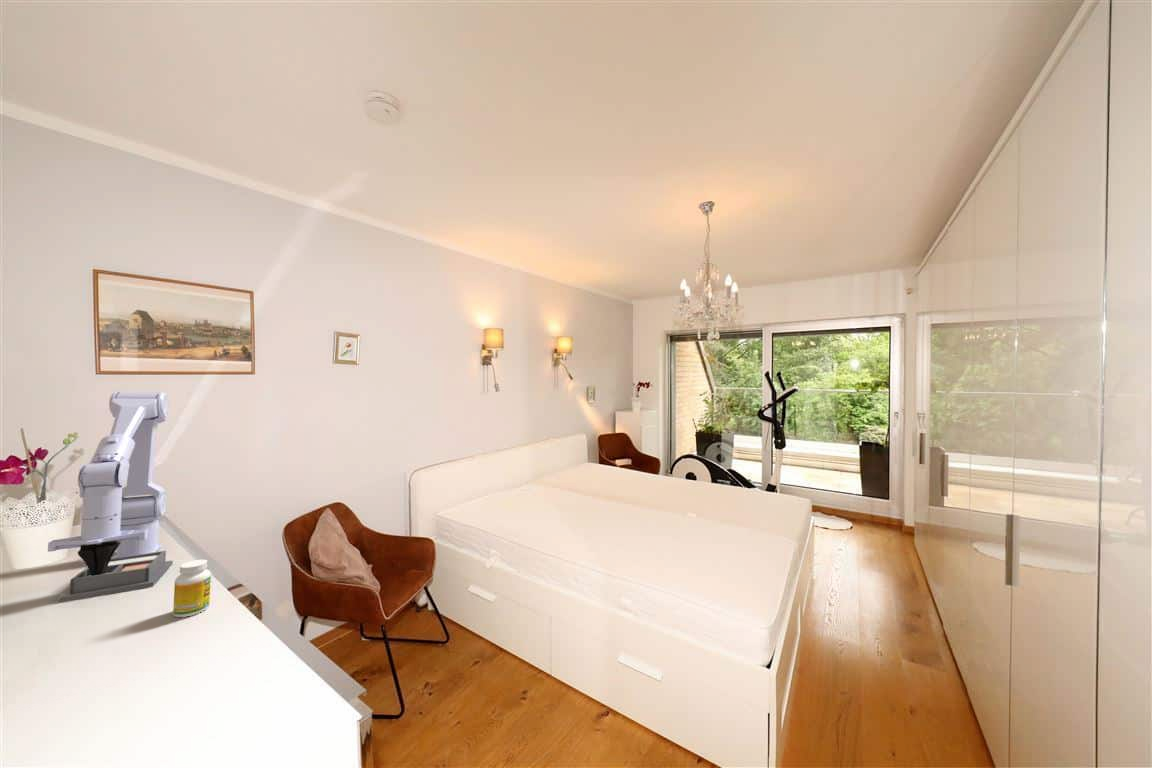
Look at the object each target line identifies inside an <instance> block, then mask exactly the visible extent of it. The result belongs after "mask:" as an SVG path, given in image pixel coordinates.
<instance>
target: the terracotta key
mask: <svg viewBox="0 0 1152 768" xmlns="http://www.w3.org/2000/svg"><path fill="white" fill-rule="evenodd" d="M149 564H150V563H148V564H141V565H134V566H127V567H125V568H124V569H123V570H122V571H127V570H133V569H140V568H146V567H147V566H148V565H149Z"/></svg>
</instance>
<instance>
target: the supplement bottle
mask: <svg viewBox="0 0 1152 768" xmlns="http://www.w3.org/2000/svg"><path fill="white" fill-rule="evenodd" d="M207 568H208V560H207V559H194V560H190V561H186V562H184V563H182V564H181V565H180V566H179V575H178V576H176V578H175V580H174V586H173V587H174V588H173V589H174V590H173V593H174V594H173V608H172V610H173V612H172V614H173V616H174V617H175V618H180V617H182V618H188V617H187V616H189V617H192V615H193V616H196V615H198V613H199V614H201V613H203V612H205V611H206V610H207V609H209V607H210V601H211V600H210V599H211V583H212V582H211V579H212V573H211V571H210V569H209V570H208V569H207ZM204 610H205V611H204ZM200 612H201V613H200ZM195 614H196V615H195Z"/></svg>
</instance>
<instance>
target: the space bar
mask: <svg viewBox="0 0 1152 768" xmlns="http://www.w3.org/2000/svg"><path fill="white" fill-rule="evenodd" d="M157 556H158V555H155V556H148V557H141V558H134V559H127V560H120V561H112V562H109V564H108V566H109V565H116V564H123V563H130V562H137V561H144V560H151V559H155V558H156V557H157Z"/></svg>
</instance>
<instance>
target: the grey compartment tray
mask: <svg viewBox="0 0 1152 768" xmlns="http://www.w3.org/2000/svg"><path fill="white" fill-rule="evenodd" d="M166 551H167V550H162V551H156V552H153V553H146V554H138V555H131V556H124V557H116V558H111V560H110V562H112V561H120V560H127V559H134V558H141V557H148V556H155V555H158V556H157V557H156V558H155V559H151V560H144V561H137V562H130V563H123V564H116V565H109V566H107V569H106V572H105V573H107V574H100V575H93V576H90V575H91V574H90V571H89V569H88V567H86V568H84V569H83V570H82V571H80V572H78V574H76V575H75V576H73V577H72V578H71V579H70V583H69V585H70V586H69V589H68V590H67V591H65V592H64V593H63V594H62V595H61V596H59V597H58V603H65V602H71V601H76V600H82V599H88V598H93V597H99V596H100V597H101V596H105V595H111V594H118V593H125V592H129V591H135V590H142V589H147V588H153V587H154V586H156V584H157V583H158V582H159V580H160V579H162V577H163V576H164V575H165V573H167V571H168V570H169V569H170V568H171V567H172V565H173V560H166V555H167V553H166ZM148 563H150V564H149V565H148V566H147V567H146V568H140V569H133V570H127V571H122V570H123V569H124V568H125V567H127V566H134V565H141V564H148ZM170 566H171V567H170ZM169 567H170V568H169ZM110 572H111V573H110Z"/></svg>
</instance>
